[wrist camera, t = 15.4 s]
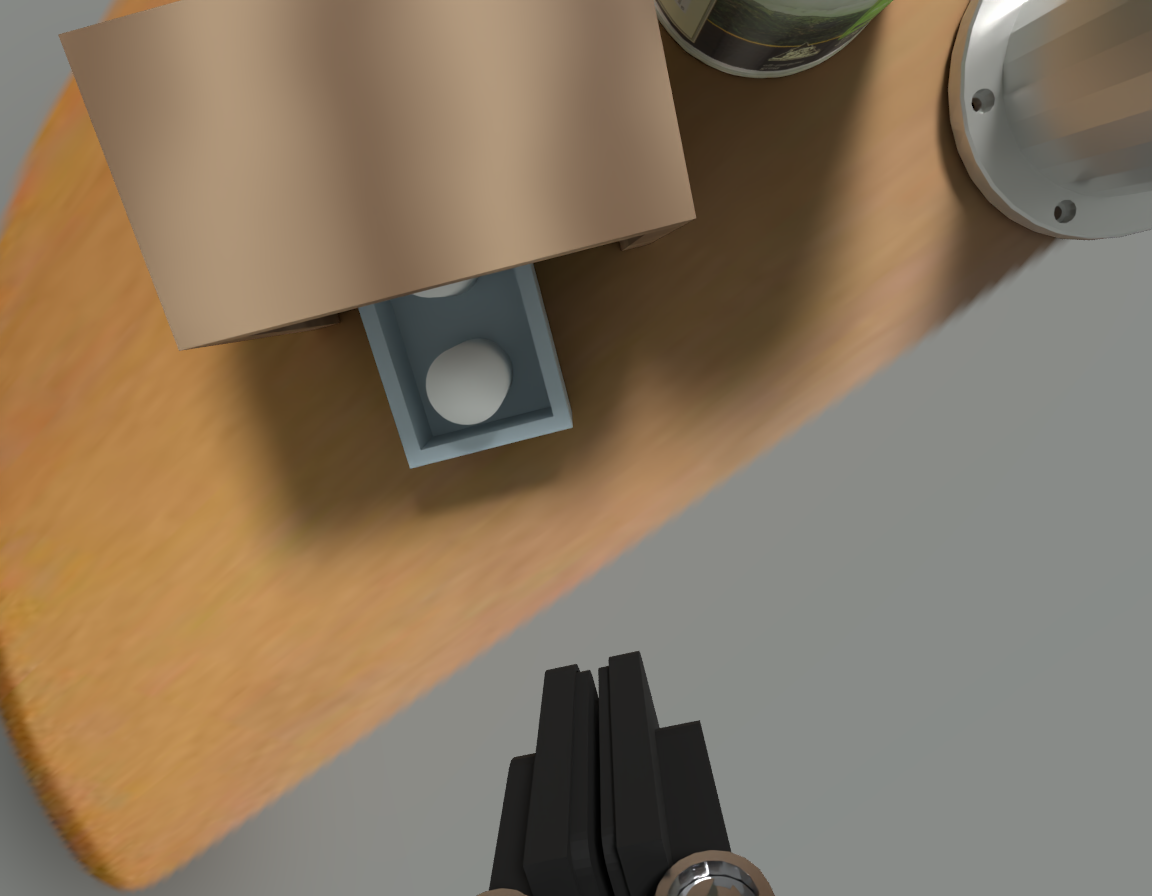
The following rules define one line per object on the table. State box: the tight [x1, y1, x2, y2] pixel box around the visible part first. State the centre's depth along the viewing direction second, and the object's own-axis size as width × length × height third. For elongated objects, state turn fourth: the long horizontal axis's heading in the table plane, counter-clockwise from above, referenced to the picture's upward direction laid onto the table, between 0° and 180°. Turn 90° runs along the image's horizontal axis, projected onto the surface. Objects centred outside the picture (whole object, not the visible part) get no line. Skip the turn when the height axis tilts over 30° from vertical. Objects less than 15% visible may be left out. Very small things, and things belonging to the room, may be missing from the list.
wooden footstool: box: [59, 0, 696, 351], centre depth 22 cm, size 14×8×10 cm, turn 104°
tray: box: [358, 263, 573, 469], centre depth 26 cm, size 6×10×5 cm, turn 14°
